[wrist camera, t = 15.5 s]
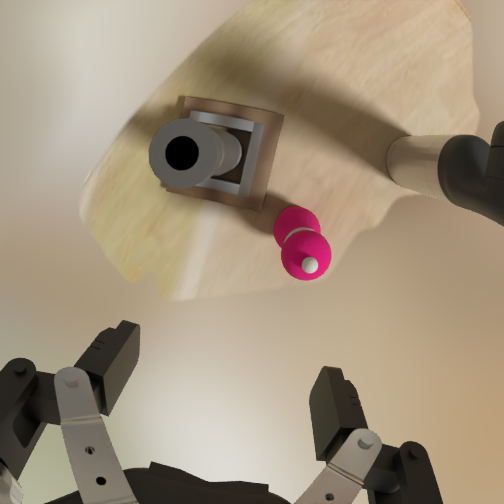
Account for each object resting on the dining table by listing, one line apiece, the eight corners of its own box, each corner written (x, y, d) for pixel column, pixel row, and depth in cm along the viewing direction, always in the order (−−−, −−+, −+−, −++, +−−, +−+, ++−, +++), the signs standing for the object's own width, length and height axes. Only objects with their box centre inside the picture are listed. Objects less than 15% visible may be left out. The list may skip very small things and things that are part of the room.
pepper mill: (275, 200, 50) (280, 232, 31) (318, 205, 50) (348, 238, 31) (271, 242, 52) (273, 296, 33) (313, 246, 52) (337, 300, 33)
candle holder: (247, 166, 47) (228, 181, 23) (209, 175, 48) (155, 199, 24) (239, 128, 45) (211, 105, 21) (201, 138, 46) (138, 127, 22)
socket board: (283, 116, 46) (285, 112, 40) (261, 210, 51) (260, 217, 45) (187, 98, 45) (178, 92, 40) (168, 189, 50) (158, 194, 45)
